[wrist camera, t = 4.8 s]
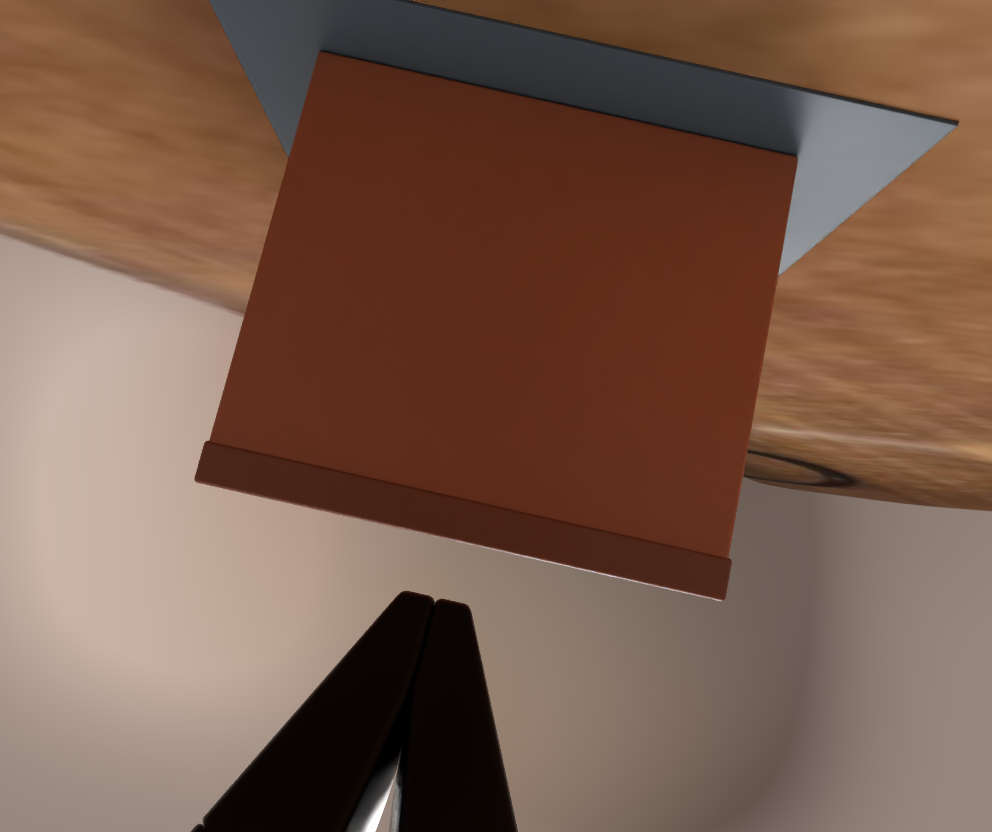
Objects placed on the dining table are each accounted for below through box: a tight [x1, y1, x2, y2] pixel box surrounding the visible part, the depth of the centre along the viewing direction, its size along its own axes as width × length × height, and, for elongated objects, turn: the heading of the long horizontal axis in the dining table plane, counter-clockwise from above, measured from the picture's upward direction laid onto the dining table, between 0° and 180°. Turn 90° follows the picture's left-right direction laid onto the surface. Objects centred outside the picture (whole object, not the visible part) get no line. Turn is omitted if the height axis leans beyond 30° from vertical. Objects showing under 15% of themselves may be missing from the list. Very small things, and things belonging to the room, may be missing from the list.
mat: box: [209, 0, 958, 276], centre depth 26 cm, size 25×14×1 cm, turn 179°
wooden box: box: [195, 51, 798, 601], centre depth 22 cm, size 14×10×9 cm
